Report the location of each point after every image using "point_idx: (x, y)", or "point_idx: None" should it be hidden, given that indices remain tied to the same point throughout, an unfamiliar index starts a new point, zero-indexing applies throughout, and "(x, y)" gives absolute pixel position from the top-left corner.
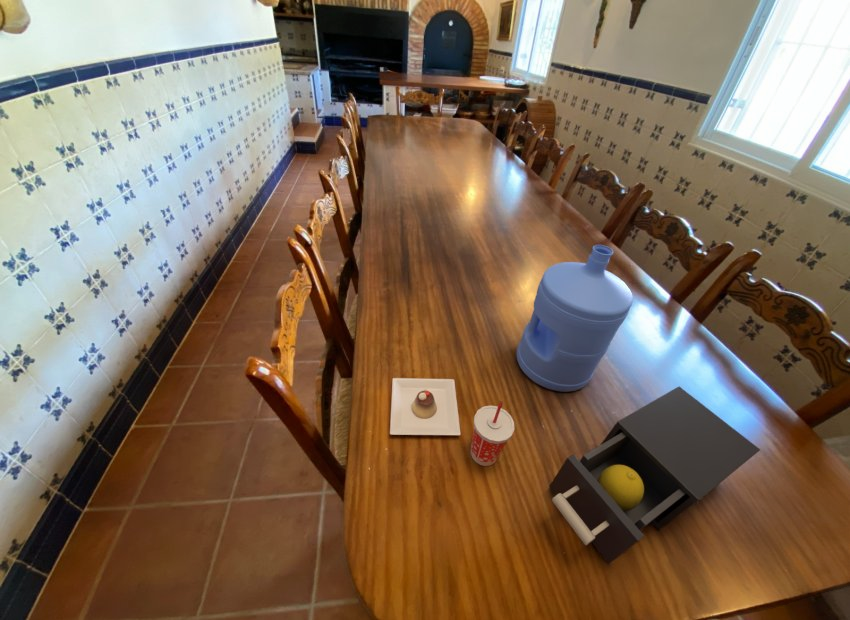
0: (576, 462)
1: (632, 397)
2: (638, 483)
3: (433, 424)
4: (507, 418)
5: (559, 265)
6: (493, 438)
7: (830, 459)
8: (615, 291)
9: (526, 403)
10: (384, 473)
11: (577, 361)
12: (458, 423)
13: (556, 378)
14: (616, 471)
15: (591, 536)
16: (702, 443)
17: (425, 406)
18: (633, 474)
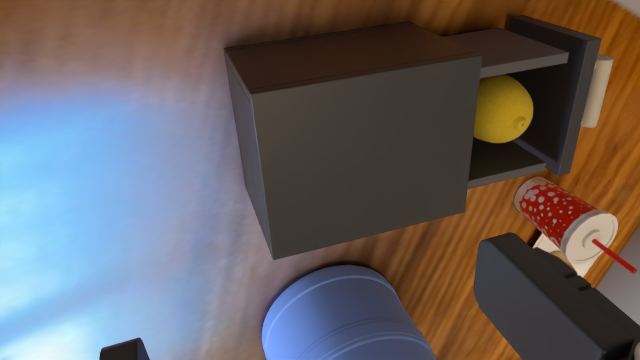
0: (566, 163)
1: (233, 238)
2: (515, 108)
3: None
4: (571, 242)
5: None
6: (610, 218)
7: None
8: None
9: (424, 253)
10: (634, 194)
11: (400, 325)
12: (540, 238)
13: (389, 292)
14: (520, 134)
15: (608, 64)
16: (364, 140)
17: (572, 268)
18: (519, 124)
